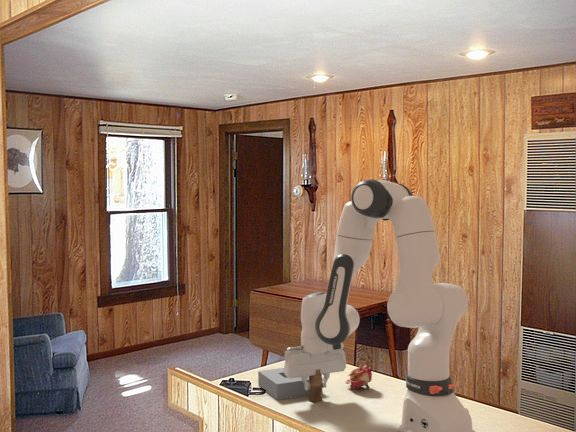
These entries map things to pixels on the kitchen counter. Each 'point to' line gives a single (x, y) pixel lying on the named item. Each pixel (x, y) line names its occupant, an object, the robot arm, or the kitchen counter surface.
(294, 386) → the socket block
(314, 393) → the peg
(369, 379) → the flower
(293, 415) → the kitchen counter surface
